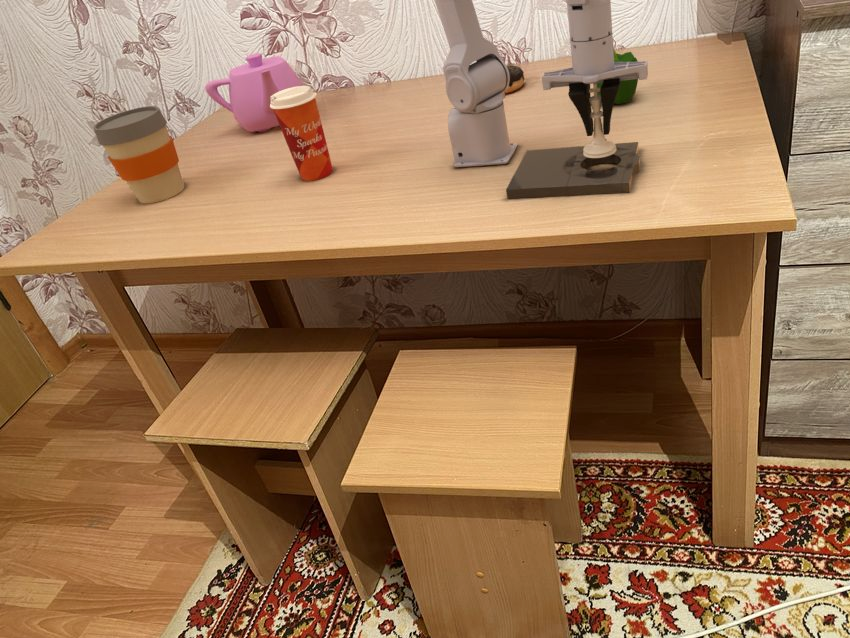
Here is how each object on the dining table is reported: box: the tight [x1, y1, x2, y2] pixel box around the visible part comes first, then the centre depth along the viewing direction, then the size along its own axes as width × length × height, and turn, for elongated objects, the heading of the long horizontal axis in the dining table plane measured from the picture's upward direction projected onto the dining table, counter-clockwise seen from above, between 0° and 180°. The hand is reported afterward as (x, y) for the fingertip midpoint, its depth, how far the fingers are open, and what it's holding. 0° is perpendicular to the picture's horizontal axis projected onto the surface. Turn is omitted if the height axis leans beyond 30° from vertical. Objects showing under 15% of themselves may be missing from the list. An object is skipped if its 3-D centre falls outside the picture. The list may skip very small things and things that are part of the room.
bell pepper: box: [592, 48, 639, 105], centre depth 127 cm, size 8×8×10 cm
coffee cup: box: [270, 85, 334, 182], centre depth 124 cm, size 8×8×15 cm
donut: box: [504, 64, 526, 94], centre depth 149 cm, size 11×12×4 cm
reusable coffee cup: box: [92, 105, 185, 204], centre depth 132 cm, size 13×13×15 cm
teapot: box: [204, 52, 304, 133], centre depth 155 cm, size 23×21×15 cm
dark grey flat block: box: [505, 141, 641, 200], centre depth 106 cm, size 19×15×2 cm
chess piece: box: [583, 83, 616, 158], centre depth 101 cm, size 5×5×10 cm
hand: (598, 133), depth 103 cm, fingers closed on chess piece
